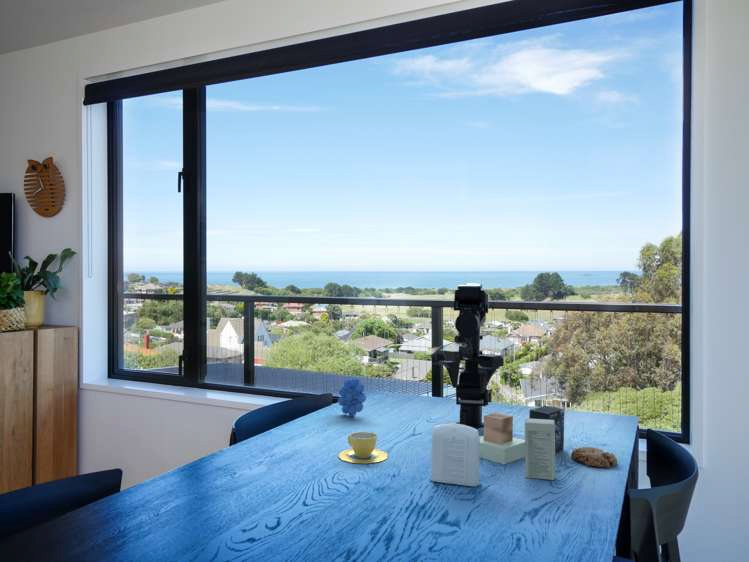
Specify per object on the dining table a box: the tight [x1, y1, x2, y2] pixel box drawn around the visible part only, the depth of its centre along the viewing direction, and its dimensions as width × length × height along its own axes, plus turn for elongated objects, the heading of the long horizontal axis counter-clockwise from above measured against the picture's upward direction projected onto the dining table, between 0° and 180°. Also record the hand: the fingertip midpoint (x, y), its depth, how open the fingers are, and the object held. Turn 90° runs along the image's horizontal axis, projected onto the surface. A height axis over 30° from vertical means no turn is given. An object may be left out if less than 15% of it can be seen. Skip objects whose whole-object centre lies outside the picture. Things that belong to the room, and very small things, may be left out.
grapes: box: [337, 377, 367, 417], centre depth 185 cm, size 12×7×12 cm, turn 45°
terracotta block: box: [483, 412, 514, 444], centre depth 147 cm, size 5×5×6 cm
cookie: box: [570, 446, 618, 469], centre depth 143 cm, size 10×11×3 cm
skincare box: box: [524, 417, 556, 481], centre depth 132 cm, size 6×4×12 cm
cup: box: [337, 431, 389, 464], centre depth 145 cm, size 12×12×5 cm
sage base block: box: [479, 435, 525, 465], centre depth 147 cm, size 10×10×4 cm
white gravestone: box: [430, 423, 480, 488], centre depth 127 cm, size 10×4×12 cm, turn 72°
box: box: [528, 405, 566, 454], centre depth 151 cm, size 8×6×11 cm
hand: (468, 390), depth 161 cm, fingers open, 9 cm apart
